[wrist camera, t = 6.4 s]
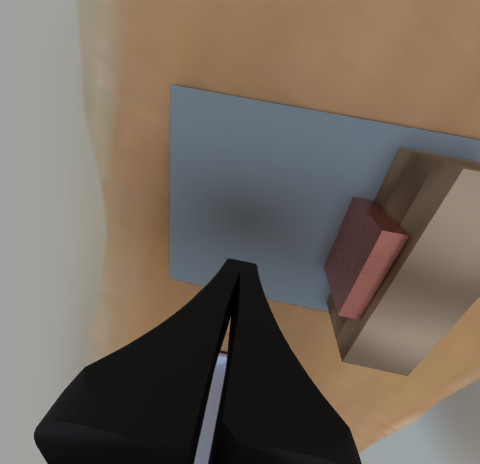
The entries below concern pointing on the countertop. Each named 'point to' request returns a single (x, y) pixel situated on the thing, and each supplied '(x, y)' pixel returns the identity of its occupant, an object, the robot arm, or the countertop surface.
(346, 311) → the pin
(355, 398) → the countertop surface
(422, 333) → the block
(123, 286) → the countertop surface
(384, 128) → the mat
